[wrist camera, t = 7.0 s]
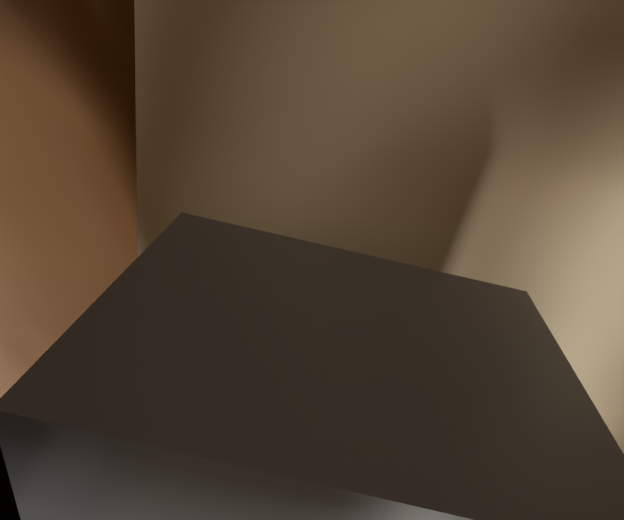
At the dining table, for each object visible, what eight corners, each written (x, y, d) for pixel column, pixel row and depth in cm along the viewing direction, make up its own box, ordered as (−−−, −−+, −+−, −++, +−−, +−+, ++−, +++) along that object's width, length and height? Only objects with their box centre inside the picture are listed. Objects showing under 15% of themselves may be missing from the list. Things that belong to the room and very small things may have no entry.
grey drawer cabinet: (526, 291, 8) (707, 594, 4) (415, 493, 11) (444, 776, 7) (181, 211, 8) (-29, 427, 4) (171, 437, 11) (54, 687, 7)
